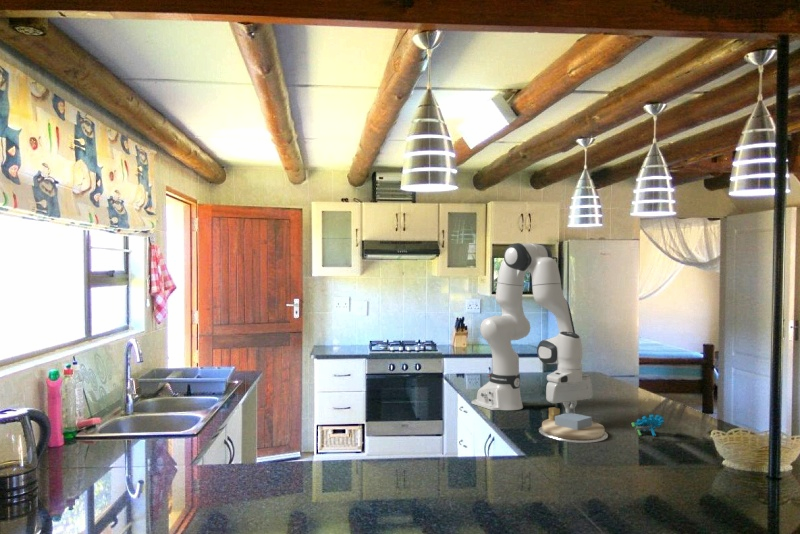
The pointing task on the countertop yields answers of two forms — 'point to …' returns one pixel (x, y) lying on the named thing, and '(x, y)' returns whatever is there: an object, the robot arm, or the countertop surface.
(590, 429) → the turntable
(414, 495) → the countertop surface
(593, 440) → the base
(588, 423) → the cover
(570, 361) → the robot arm
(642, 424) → the blue toy animal
